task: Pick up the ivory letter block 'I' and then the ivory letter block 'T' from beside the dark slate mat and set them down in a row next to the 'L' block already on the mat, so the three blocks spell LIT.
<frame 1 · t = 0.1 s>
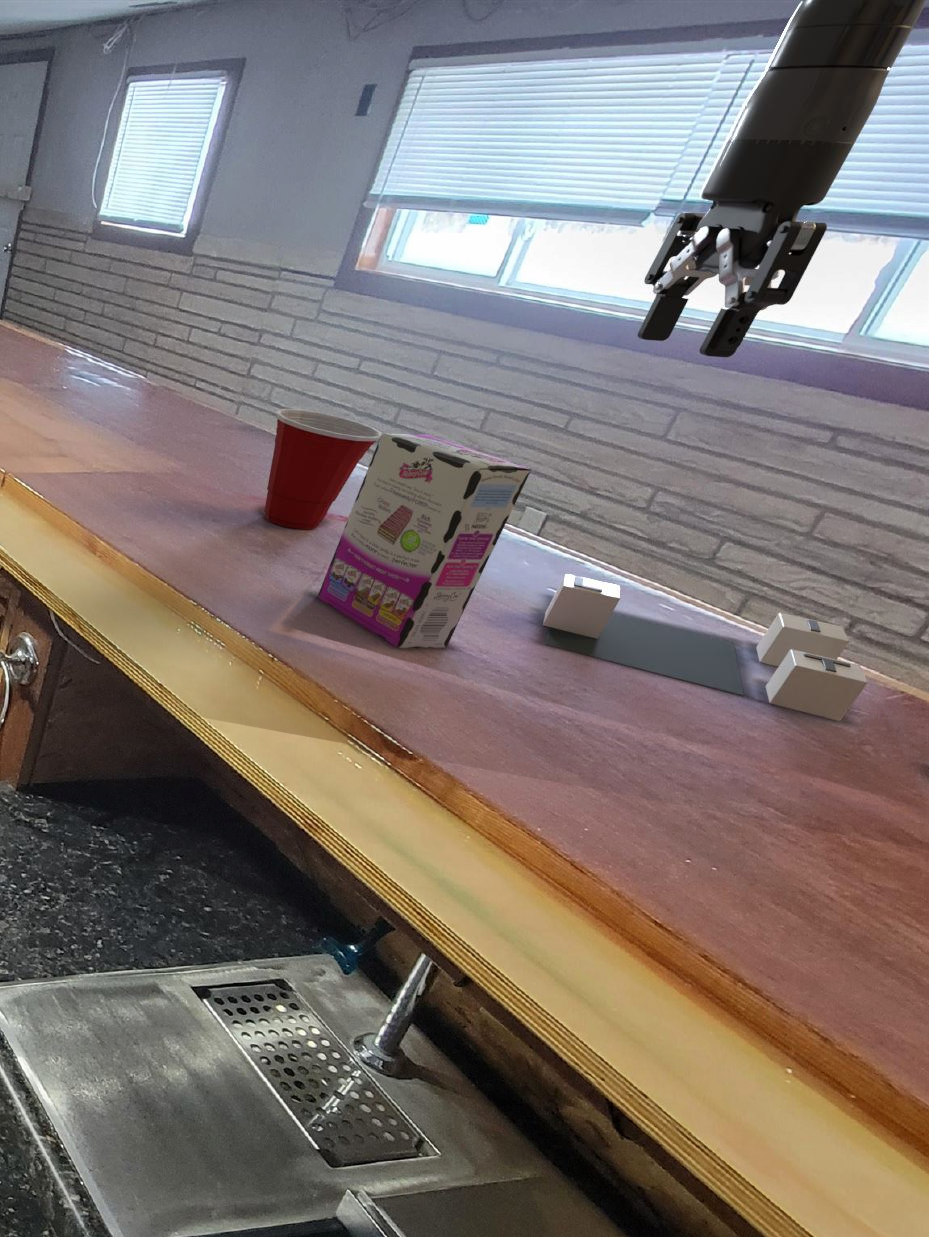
hand: (681, 347, 86), 24 cm above the counter, tool pointing down, fingers open, 8 cm apart
plastic cup: (292, 523, 115), on the counter
word mat: (637, 648, 87), on the counter
tile T: (797, 708, 79), on the counter
candy bar box: (376, 627, 90), on the counter
tile L: (570, 625, 90), point 1 cm above the counter, touching word mat
tile I: (785, 667, 85), on the counter
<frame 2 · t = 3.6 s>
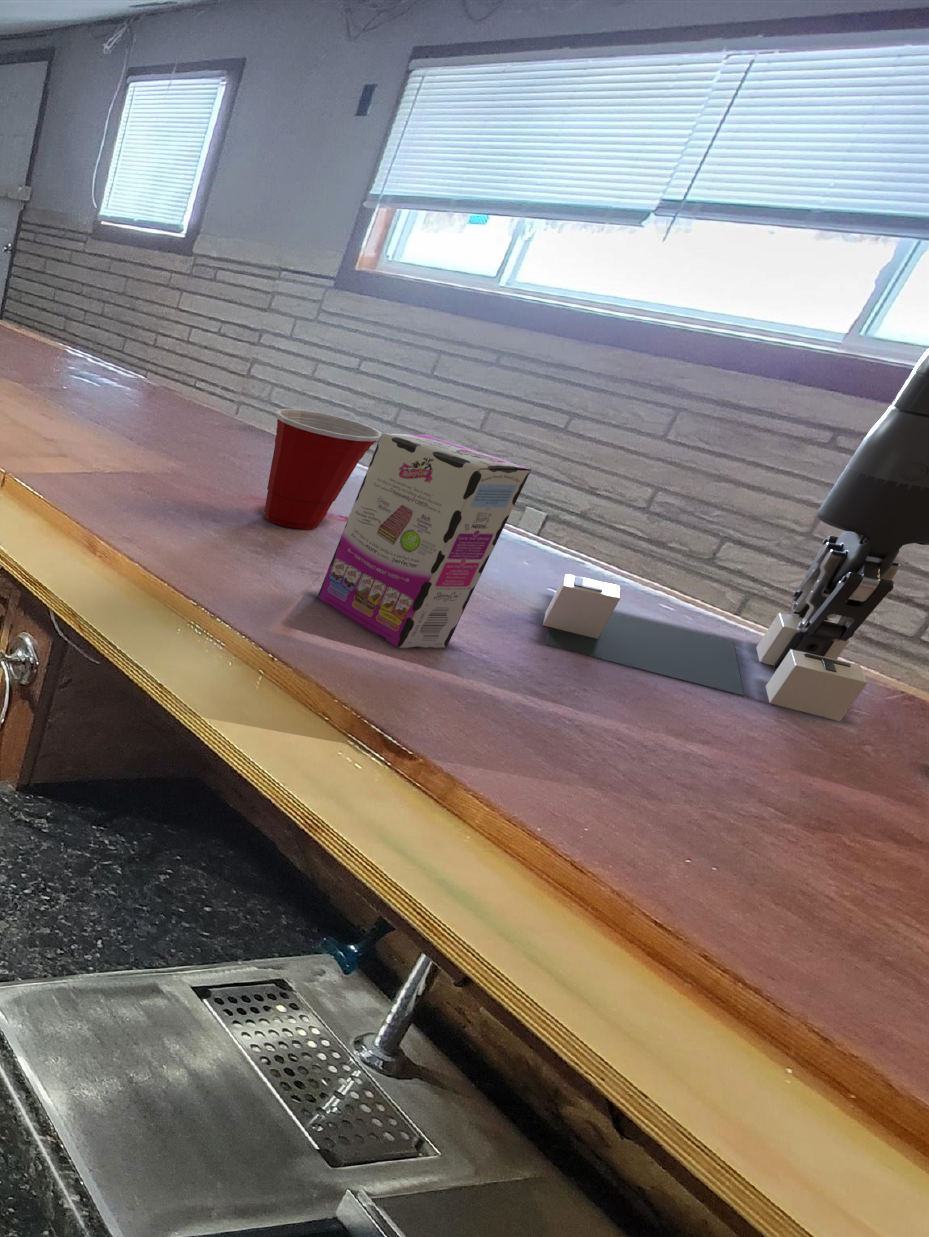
hand: (787, 664, 85), 0 cm above the counter, tool pointing down, fingers closed on tile I, 4 cm apart
tile I: (785, 667, 85), on the counter, touching gripper
everything else where it was.
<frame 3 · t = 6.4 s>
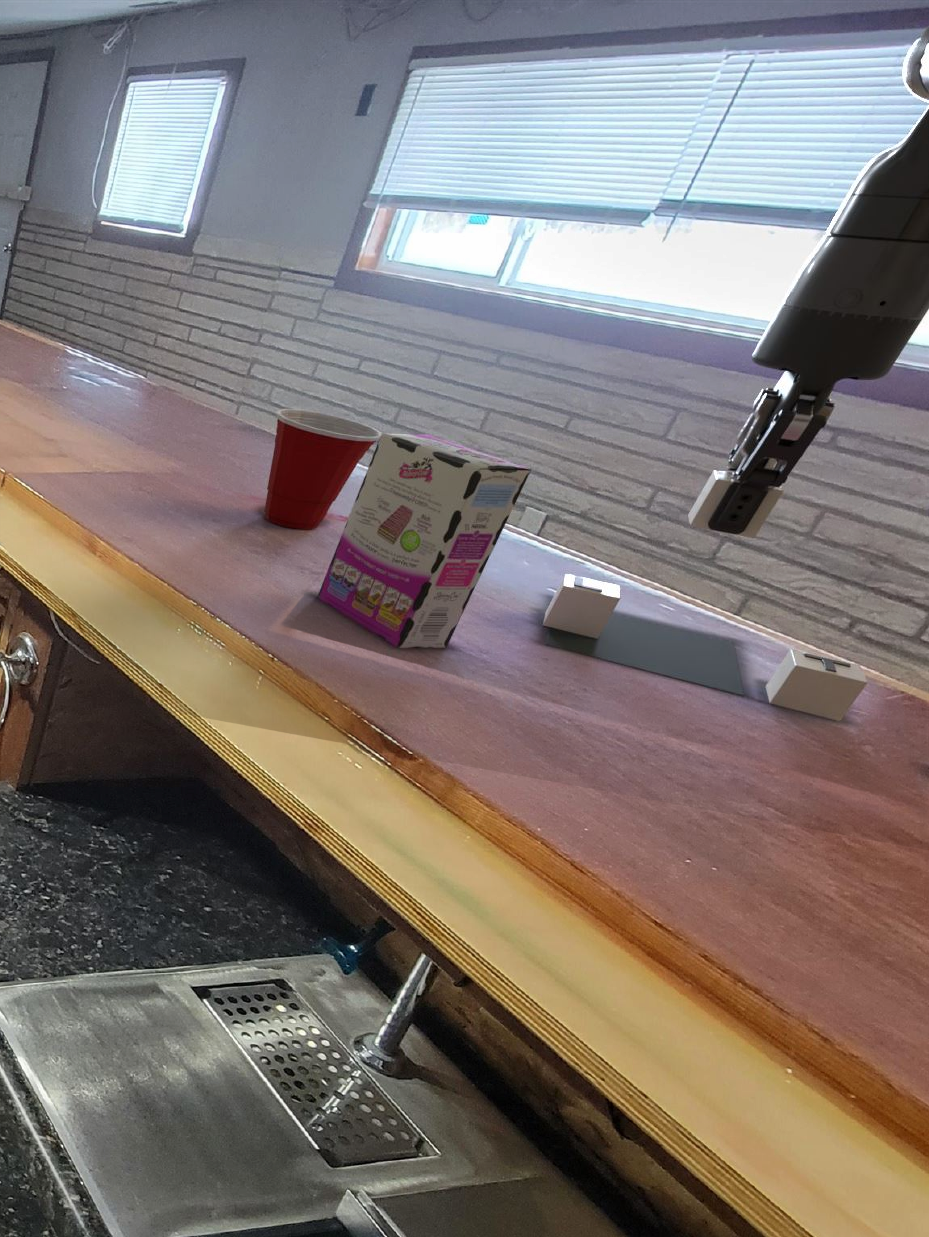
hand: (722, 523, 81), 12 cm above the counter, tool pointing down, fingers closed on tile I, 4 cm apart
tile I: (720, 526, 81), point 12 cm above the counter, touching gripper
everything else where it was.
when the fingers open (1 cm above the counter, at t = 9.2 s): tile I stays where it is, resting on word mat.
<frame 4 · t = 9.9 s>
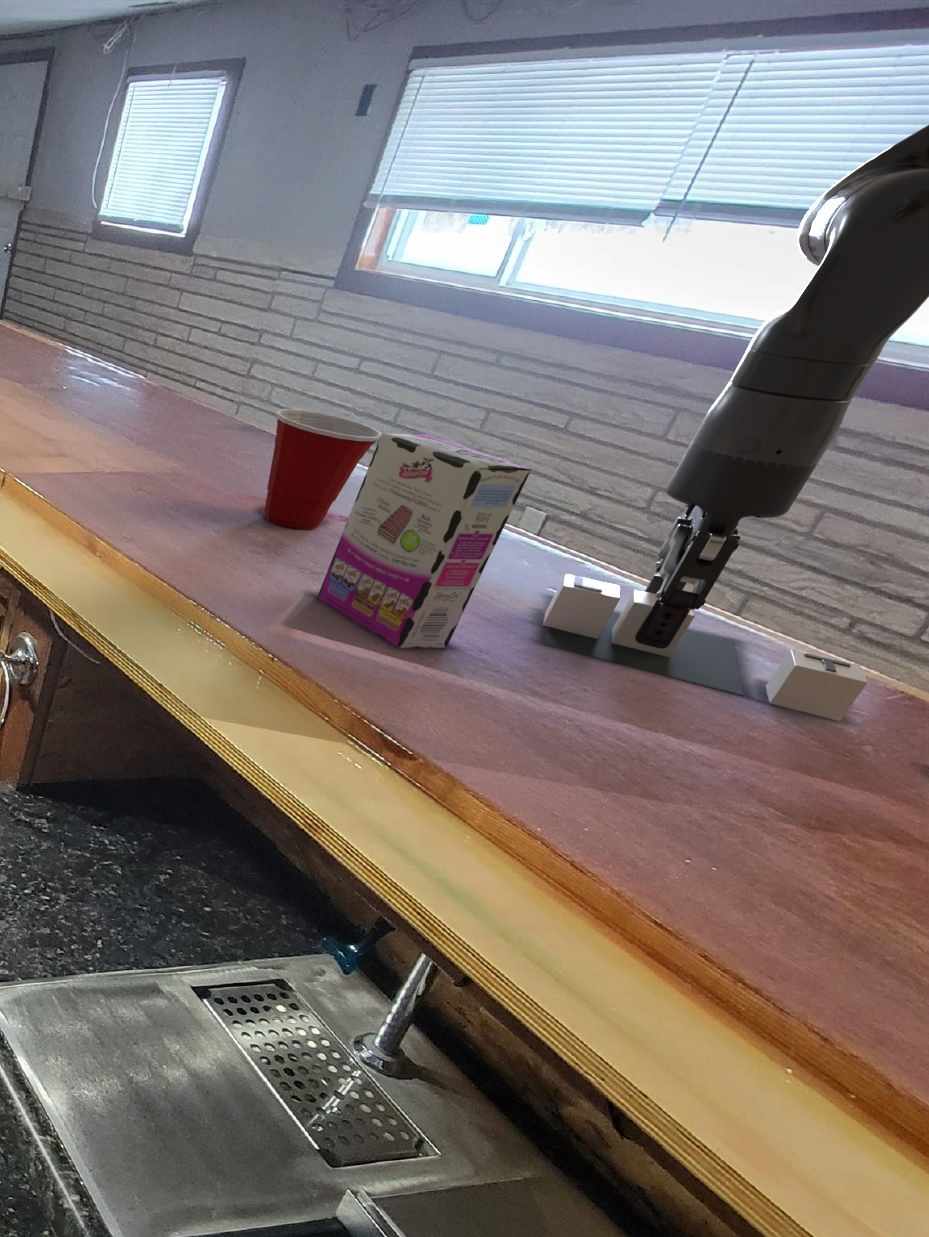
hand: (649, 629, 87), 2 cm above the counter, tool pointing down, fingers open, 8 cm apart
tile I: (640, 643, 87), point 1 cm above the counter, touching word mat
everything else where it was.
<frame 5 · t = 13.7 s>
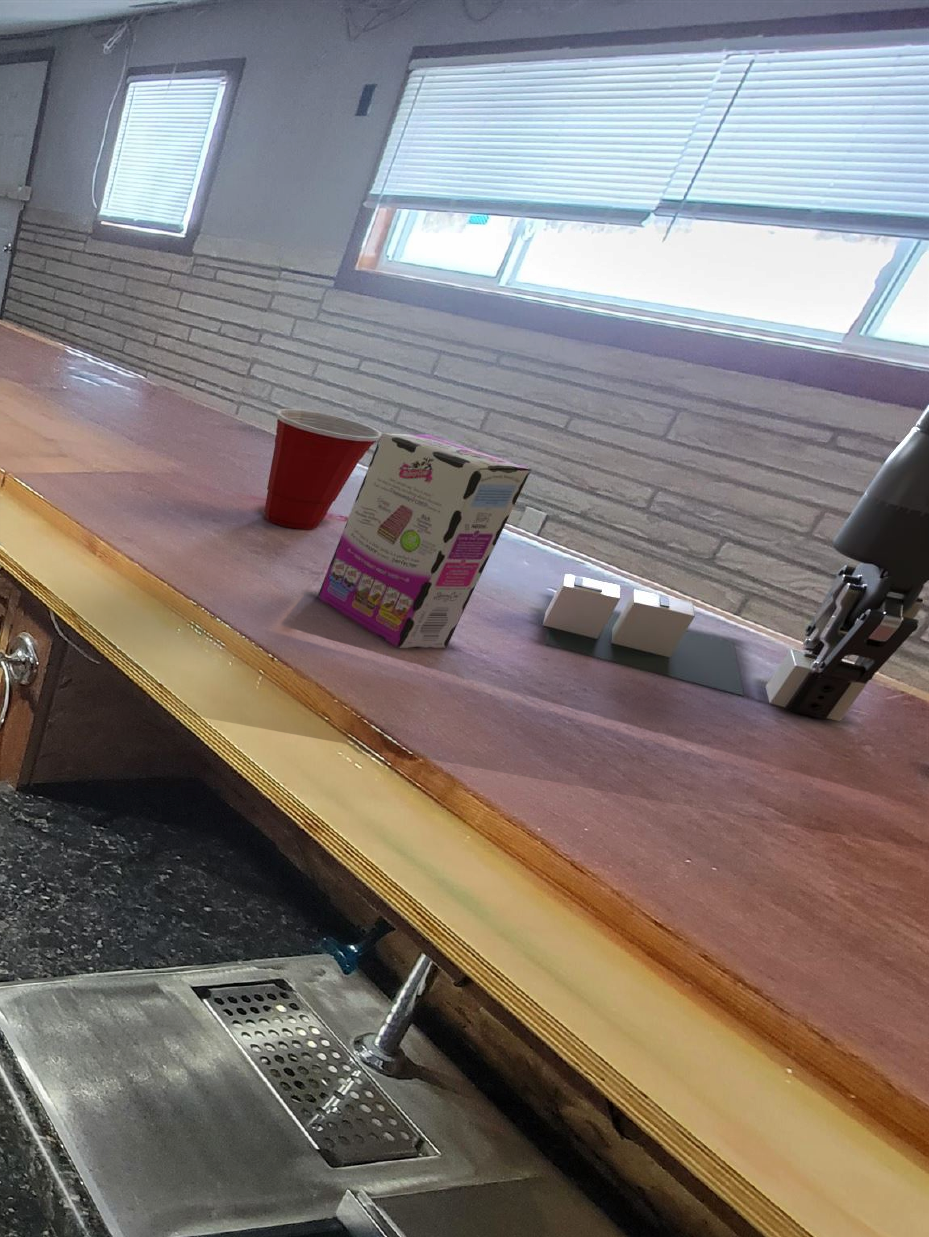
hand: (799, 706, 78), 0 cm above the counter, tool pointing down, fingers closed on tile T, 4 cm apart
tile T: (797, 708, 79), on the counter, touching gripper
everything else where it was.
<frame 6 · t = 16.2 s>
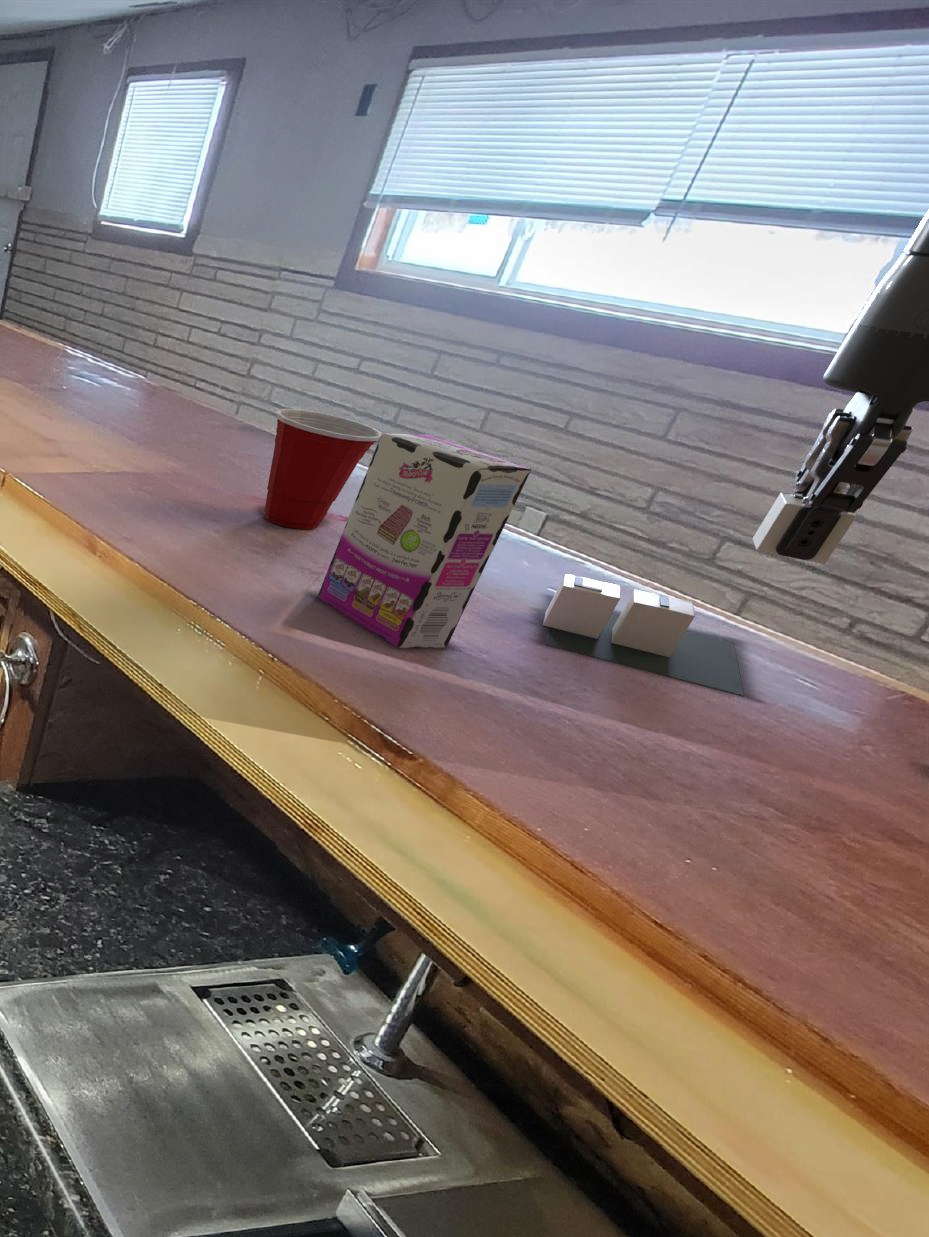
hand: (789, 548, 79), 11 cm above the counter, tool pointing down, fingers closed on tile T, 4 cm apart
tile T: (787, 551, 79), point 11 cm above the counter, touching gripper
everything else where it was.
when the fingers open (1 cm above the counter, at t = 18.8 s): tile T stays where it is, resting on word mat.
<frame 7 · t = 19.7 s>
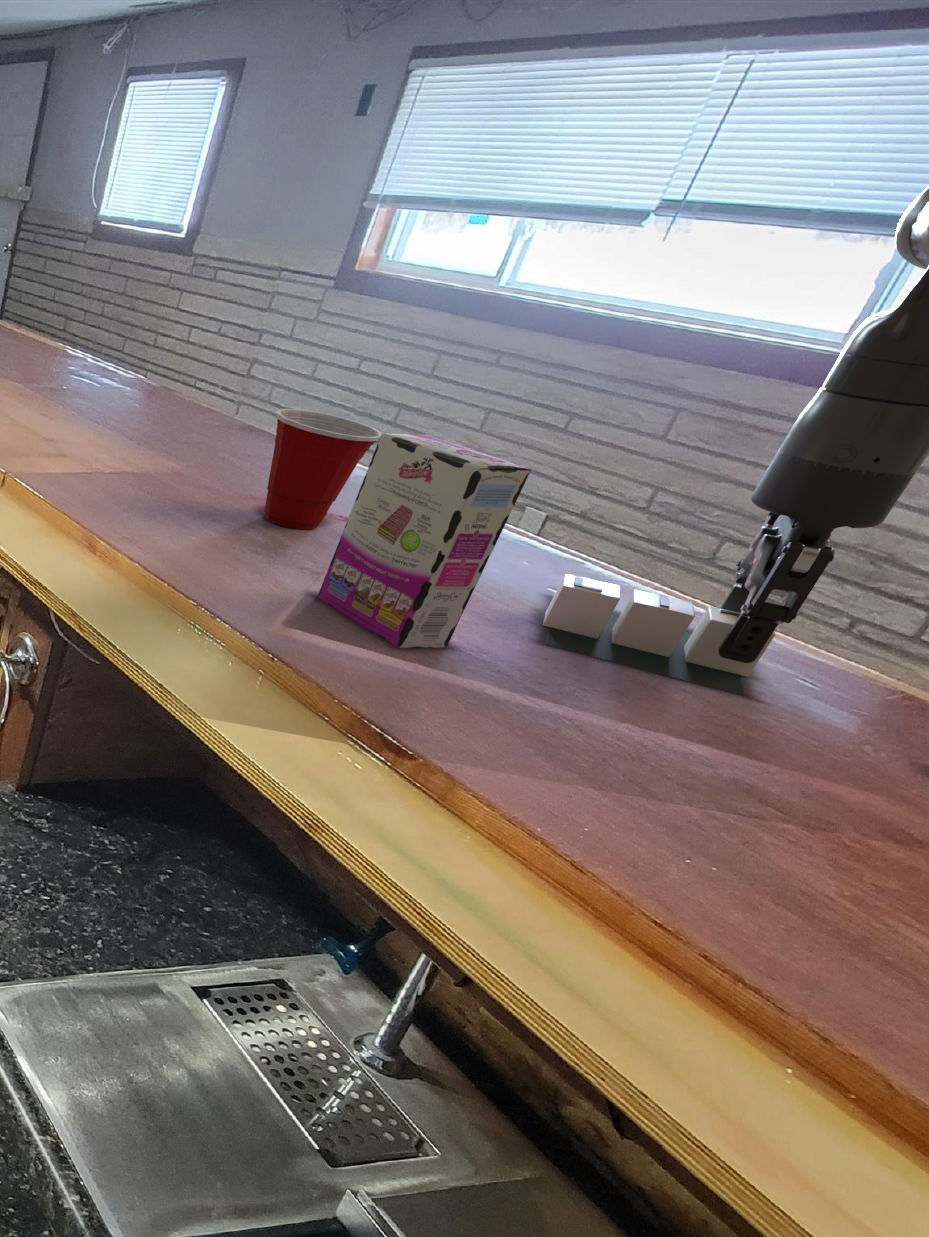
hand: (730, 642, 84), 2 cm above the counter, tool pointing down, fingers open, 8 cm apart
tile T: (714, 661, 84), point 1 cm above the counter, touching word mat
everything else where it was.
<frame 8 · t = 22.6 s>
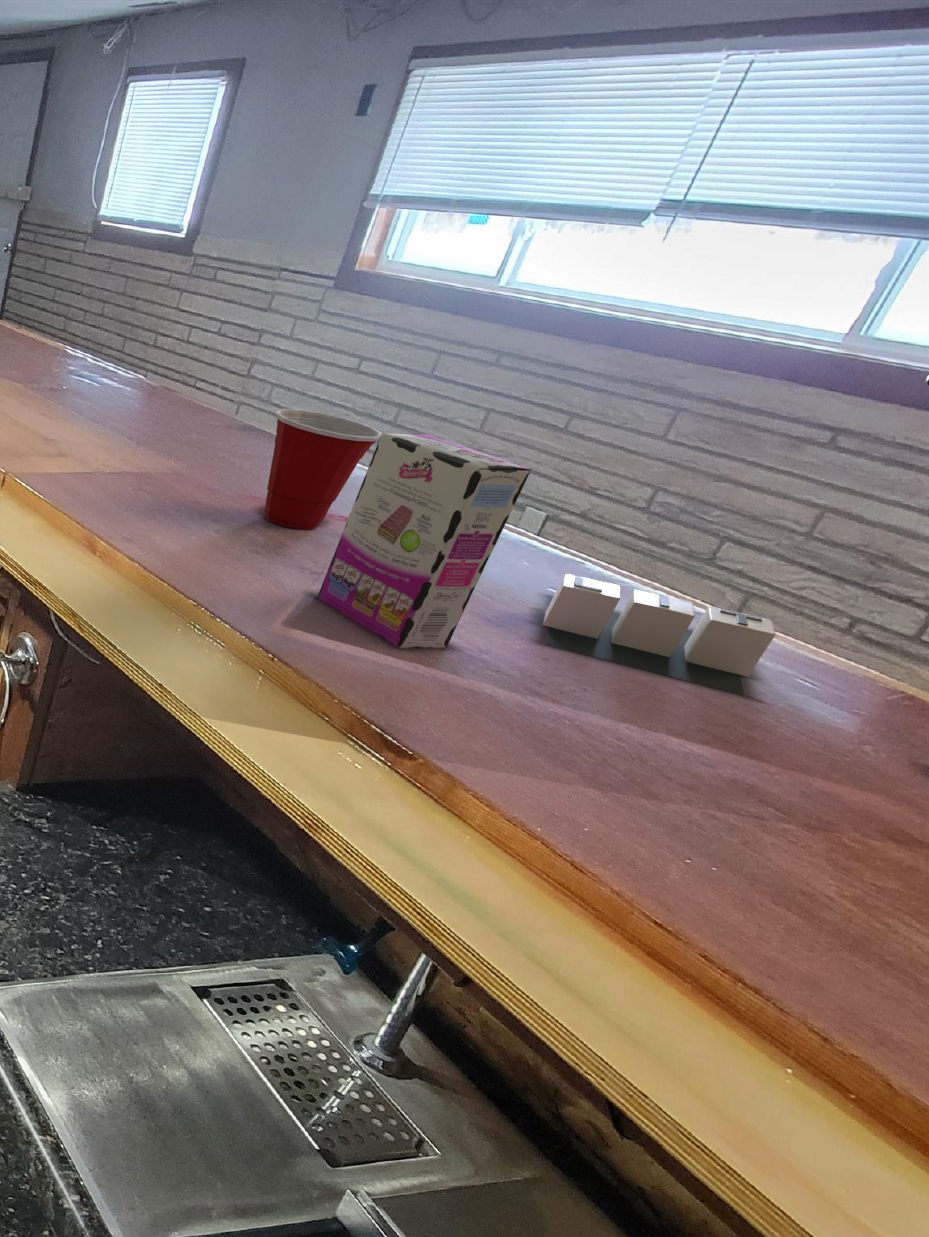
nothing on the counter moved.
at the end: tile I 0.1 cm from the target spot, point 0.6 cm above the counter; tile T 0.1 cm from the target spot, point 0.6 cm above the counter; tile L moved 0.0 cm from its start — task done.
